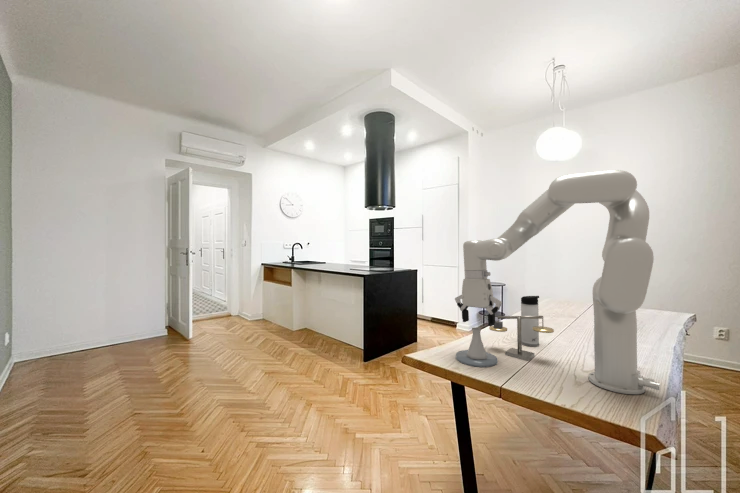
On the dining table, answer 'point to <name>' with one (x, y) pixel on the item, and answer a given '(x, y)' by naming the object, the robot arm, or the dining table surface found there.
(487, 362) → the slate dish
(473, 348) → the flask
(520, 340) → the tipped balance
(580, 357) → the dining table surface
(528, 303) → the travel mug
